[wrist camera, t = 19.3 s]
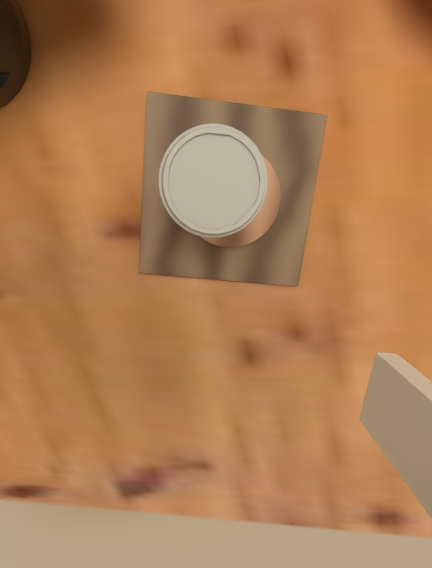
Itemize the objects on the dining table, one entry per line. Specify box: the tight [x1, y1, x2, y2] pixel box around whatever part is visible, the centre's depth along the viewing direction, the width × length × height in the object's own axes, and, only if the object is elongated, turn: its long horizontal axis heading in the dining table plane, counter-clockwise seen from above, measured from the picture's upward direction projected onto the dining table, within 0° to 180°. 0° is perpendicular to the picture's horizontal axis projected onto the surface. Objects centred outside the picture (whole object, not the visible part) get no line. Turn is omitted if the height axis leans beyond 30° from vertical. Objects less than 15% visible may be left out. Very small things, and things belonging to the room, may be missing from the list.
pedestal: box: [139, 92, 327, 286], centre depth 42 cm, size 22×22×4 cm
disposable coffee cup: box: [159, 123, 268, 238], centre depth 33 cm, size 10×10×12 cm
